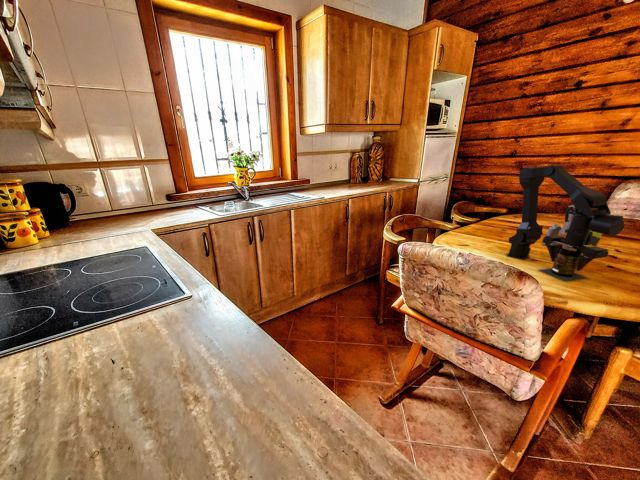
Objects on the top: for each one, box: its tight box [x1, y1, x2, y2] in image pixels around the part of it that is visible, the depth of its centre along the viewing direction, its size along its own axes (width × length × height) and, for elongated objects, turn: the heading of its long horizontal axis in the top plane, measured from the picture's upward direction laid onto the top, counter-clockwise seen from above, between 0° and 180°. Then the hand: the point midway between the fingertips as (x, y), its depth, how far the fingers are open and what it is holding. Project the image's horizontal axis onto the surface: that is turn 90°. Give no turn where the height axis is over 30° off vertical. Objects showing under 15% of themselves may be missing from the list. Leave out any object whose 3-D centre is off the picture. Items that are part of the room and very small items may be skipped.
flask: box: [542, 222, 562, 247], centre depth 137 cm, size 9×3×11 cm, turn 121°
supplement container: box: [550, 245, 583, 277], centre depth 108 cm, size 7×7×10 cm
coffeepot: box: [558, 204, 575, 236], centre depth 147 cm, size 15×9×18 cm, turn 103°
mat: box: [538, 267, 587, 282], centre depth 110 cm, size 10×10×1 cm
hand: (565, 266), depth 109 cm, fingers open, 9 cm apart
